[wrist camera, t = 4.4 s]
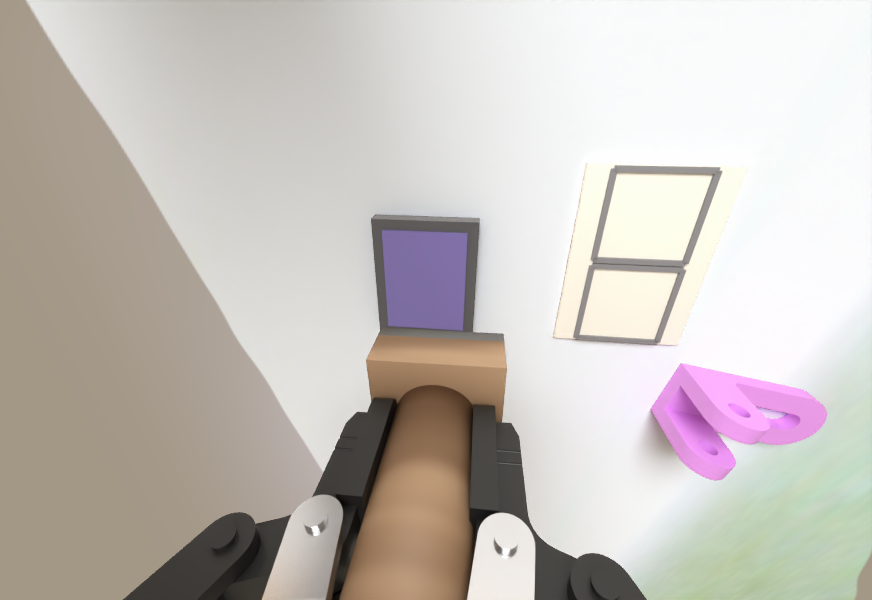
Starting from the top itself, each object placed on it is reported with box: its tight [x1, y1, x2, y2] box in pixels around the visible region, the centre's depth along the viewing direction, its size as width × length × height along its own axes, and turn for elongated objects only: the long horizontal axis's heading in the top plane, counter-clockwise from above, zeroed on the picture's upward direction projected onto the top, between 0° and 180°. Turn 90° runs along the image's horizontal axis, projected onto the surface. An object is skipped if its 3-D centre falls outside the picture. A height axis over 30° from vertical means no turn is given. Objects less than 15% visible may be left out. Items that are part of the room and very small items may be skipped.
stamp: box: [339, 328, 507, 600], centre depth 10 cm, size 4×4×8 cm
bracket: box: [651, 363, 827, 480], centre depth 29 cm, size 13×6×7 cm, turn 79°
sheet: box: [553, 163, 748, 345], centre depth 27 cm, size 14×10×1 cm
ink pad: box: [371, 215, 479, 332], centre depth 29 cm, size 10×8×1 cm
